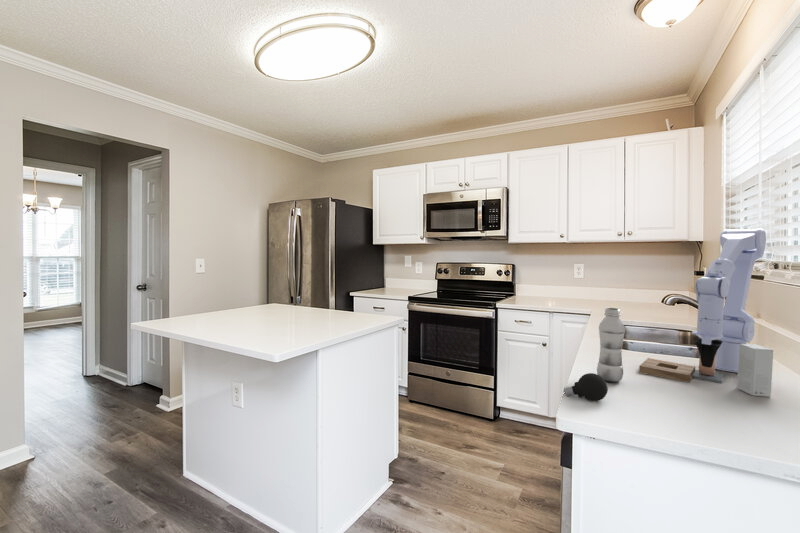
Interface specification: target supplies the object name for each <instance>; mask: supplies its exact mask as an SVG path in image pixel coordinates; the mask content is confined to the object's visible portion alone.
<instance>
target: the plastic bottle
mask: <svg viewBox="0 0 800 533" xmlns="http://www.w3.org/2000/svg"><path fill="white" fill-rule="evenodd" d="M604 316H605V317H604V318H603V319H602V320H601V322H600V323H599V326H598V335H599V346H600V347H599V350H600V351H599V358H598V363H597V366H596V374H597V375H599V376H601V377H602V378H603V379H604V380H605V382H614V383H618V382H620V381H622V379H623V377H624V367H623V356H622V355H623V354H622V352H623V342H624V339H625V338H624V336H625V333H626V329H625V325H624V323H623V321H622V320H621V319H620V316H621V309H620V308H615V307H605V308H604Z"/></svg>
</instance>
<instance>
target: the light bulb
mask: <svg viewBox="0 0 800 533" xmlns="http://www.w3.org/2000/svg"><path fill="white" fill-rule="evenodd" d="M564 392H565V393H564ZM563 394H564V395H565V396H566V397H571V396H578V398H584V399H585V400H587V401H590V402H599V401H601V400H603V399H605V397H606V396H607V394H608V384H607V381H605V380H604V379H603V378H602V377H601V376H599V375H598V374H597V373H591V372H590V373H589V372H588V373H586V374H583V375H581V377H580V378H579V379H578V381H575V382H574V385H571V386H565V387H564V388H563Z"/></svg>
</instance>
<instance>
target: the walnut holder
mask: <svg viewBox="0 0 800 533" xmlns="http://www.w3.org/2000/svg"><path fill="white" fill-rule="evenodd" d="M638 366H639V367H638V373H641V374H645V373H646V374H645V375H651V376H657V377H661V378H666V379H670V380H675V381H682V382H685V383H690V382H691V380H692V375H693V373H694V372H695V369H696V366H695V365H690V364H685V363H678V362H674V361H668V360H662V359H655V358H652V357H651V358H650V357H648V358H646V359H645V360H644V361H643V362H642V363H640V364H639V365H638Z"/></svg>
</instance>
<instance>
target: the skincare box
mask: <svg viewBox="0 0 800 533" xmlns="http://www.w3.org/2000/svg"><path fill="white" fill-rule="evenodd" d="M773 362H774V350H773V349H771V348H768V347H765V346H762V345H759V344H753V343H746V344H740V347H739V363H738V373H737V384H736V388H737V389H739V390H741V391H743V392H744V393H747V394H749V395H751V396H755V397H766V398H767V397H768V398H770V397H771V396H772V383H773V382H772V380H773V364H774V363H773Z"/></svg>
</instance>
